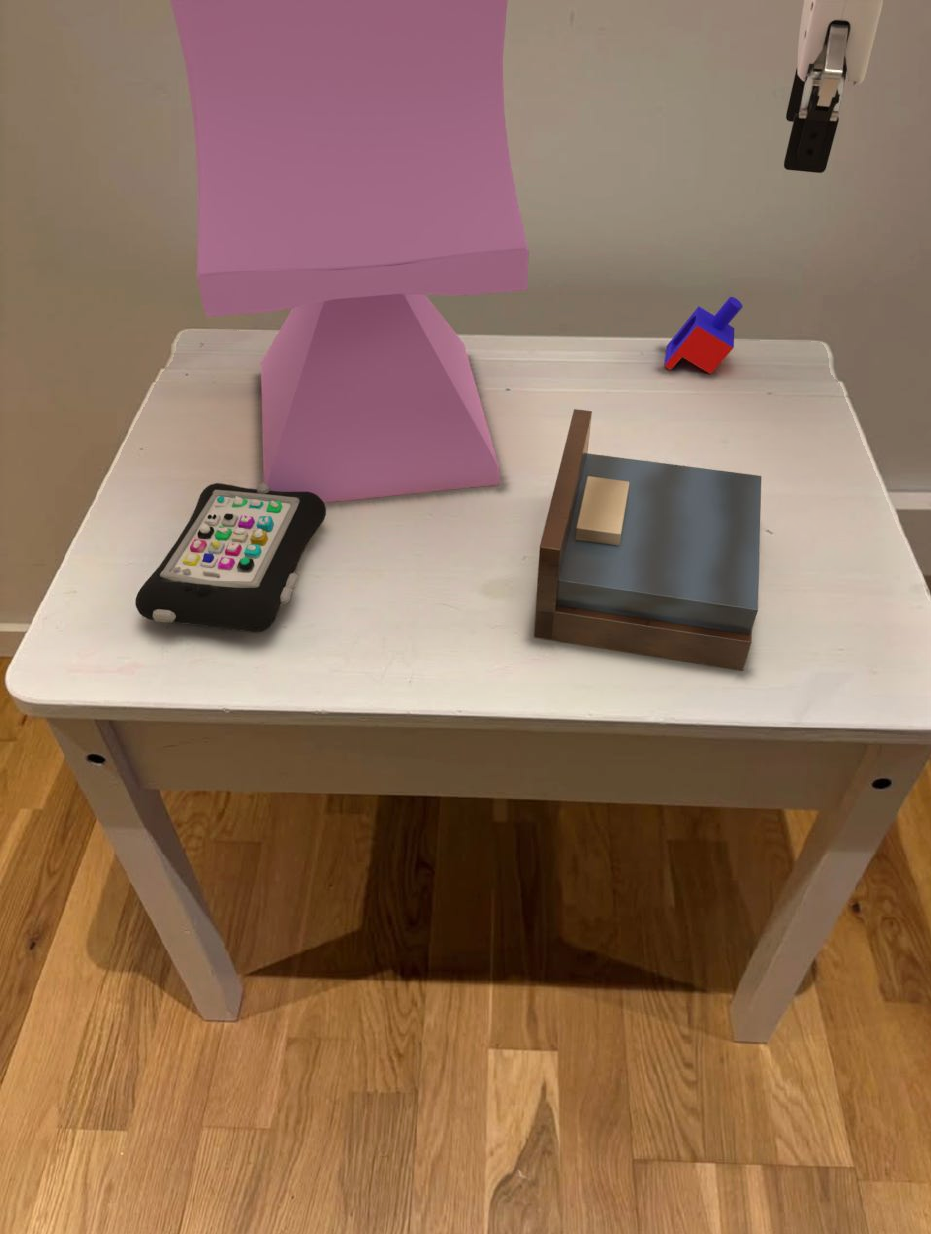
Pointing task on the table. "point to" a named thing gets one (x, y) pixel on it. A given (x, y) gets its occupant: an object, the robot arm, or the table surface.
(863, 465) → the table surface
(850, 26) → the robot arm
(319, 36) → the pink table lamp
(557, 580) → the doll bed
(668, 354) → the toy building block
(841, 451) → the table surface
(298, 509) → the phone
